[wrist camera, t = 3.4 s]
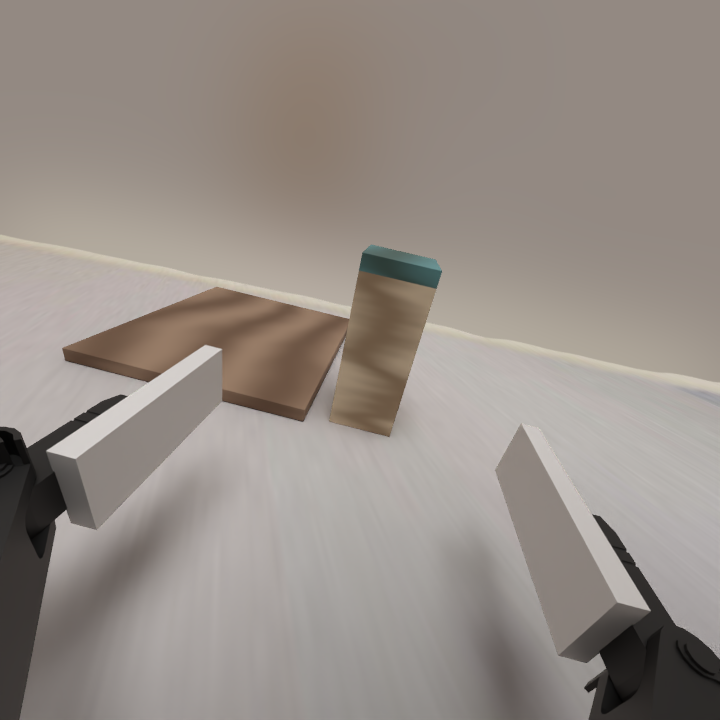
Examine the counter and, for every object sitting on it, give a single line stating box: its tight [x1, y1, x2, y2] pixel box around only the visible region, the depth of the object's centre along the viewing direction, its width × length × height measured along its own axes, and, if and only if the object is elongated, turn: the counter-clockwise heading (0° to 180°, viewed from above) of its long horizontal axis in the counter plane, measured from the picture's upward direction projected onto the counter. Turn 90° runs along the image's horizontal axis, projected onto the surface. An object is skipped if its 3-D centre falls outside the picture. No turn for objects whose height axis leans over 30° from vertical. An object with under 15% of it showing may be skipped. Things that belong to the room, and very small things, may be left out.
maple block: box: [329, 245, 442, 437], centre depth 22 cm, size 4×4×12 cm
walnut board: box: [62, 287, 349, 421], centre depth 31 cm, size 18×20×1 cm
